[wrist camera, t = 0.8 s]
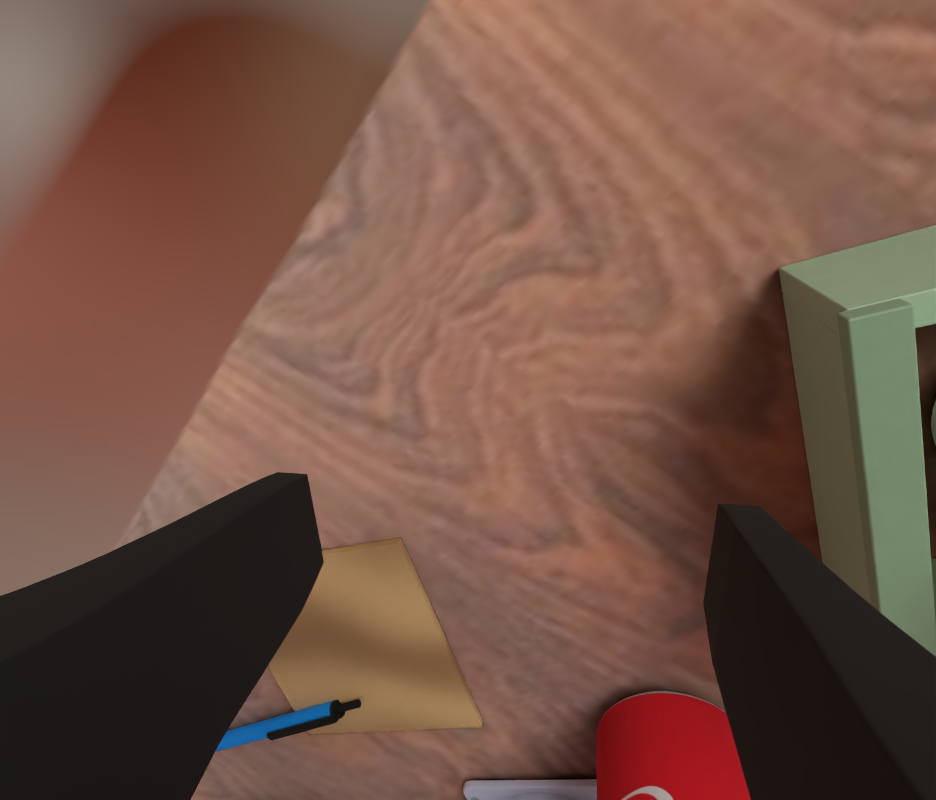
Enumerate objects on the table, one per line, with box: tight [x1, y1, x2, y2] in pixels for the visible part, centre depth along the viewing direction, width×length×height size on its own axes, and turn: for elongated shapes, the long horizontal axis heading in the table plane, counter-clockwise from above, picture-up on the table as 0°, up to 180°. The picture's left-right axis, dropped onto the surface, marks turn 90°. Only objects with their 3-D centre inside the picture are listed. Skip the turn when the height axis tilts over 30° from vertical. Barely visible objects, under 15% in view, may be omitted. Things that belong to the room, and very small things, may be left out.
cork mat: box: [268, 538, 483, 734], centre depth 27 cm, size 11×10×1 cm
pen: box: [215, 699, 361, 752], centre depth 31 cm, size 1×19×1 cm, turn 122°
